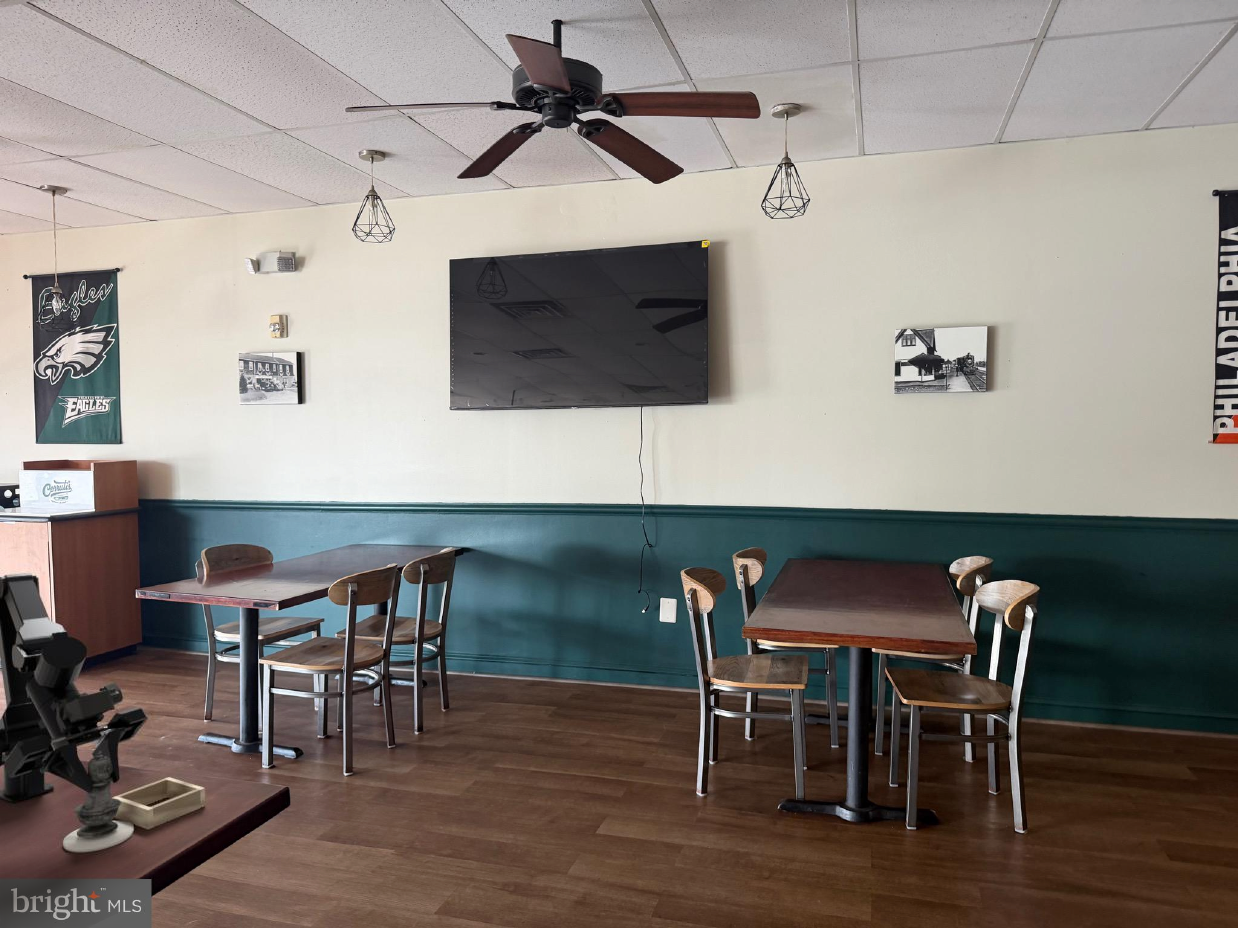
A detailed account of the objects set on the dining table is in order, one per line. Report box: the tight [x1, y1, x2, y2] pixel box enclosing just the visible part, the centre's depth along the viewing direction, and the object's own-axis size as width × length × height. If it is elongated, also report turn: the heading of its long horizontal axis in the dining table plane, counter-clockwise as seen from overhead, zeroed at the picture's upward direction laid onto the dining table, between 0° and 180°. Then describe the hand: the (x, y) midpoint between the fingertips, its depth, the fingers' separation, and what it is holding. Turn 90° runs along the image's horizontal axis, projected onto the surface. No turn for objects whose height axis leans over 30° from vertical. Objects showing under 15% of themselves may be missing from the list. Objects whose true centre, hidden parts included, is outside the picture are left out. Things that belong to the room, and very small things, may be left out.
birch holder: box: [111, 776, 206, 830], centre depth 133 cm, size 10×10×3 cm
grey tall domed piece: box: [74, 750, 121, 838], centre depth 123 cm, size 6×6×12 cm
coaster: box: [62, 820, 135, 853], centre depth 123 cm, size 9×9×1 cm
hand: (104, 785), depth 123 cm, fingers closed on grey tall domed piece, 3 cm apart
